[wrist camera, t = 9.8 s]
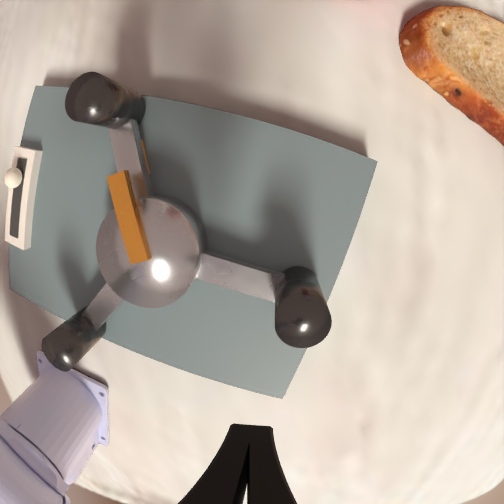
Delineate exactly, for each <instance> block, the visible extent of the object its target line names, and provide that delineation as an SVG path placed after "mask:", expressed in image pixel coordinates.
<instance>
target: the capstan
mask: <svg viewBox="0 0 504 504" xmlns="http://www.w3.org/2000/svg"><path fill="white" fill-rule="evenodd" d="M65 110H66V113H67V115H68V116H69V118H70V119H72V120H74V121H77V122H82V123H87V124H92V125H96V126H101V127H106V128H109V134H110V139H111V144H112V149H113V153H114V158H115V163H116V167H117V172H118V173H115V174H113V175H110V176H108V177H107V181H108V185H109V189H110V193H111V197H112V201H113V205H114V208H113V209H112V210H111V211H110V212H109V213H108V214H107V215H106V217H105V218H104V220H103V221H102V223H101V225H100V227H99V231H98V234H97V239H96V256H97V261H98V265H99V268H100V271H101V273H102V275H103V277H104V279H105V281H106V282H107V283H106V284H105V285H104V287H103V288H102V289H101V290H100V292H99V293H98V294H97V295H96V297H95V298H94V299H93V301H92V302H91V303H90V304H89V306H88V307H84V308H82V309H81V310H79V311H78V312H77V313H75V314H74V315H73V316H72V317H70V318H69V319H68V320H66V321H65V322H64V323H63V324H61V325H60V326H59V327H57V328H56V329H55V330H54V331H52V332H51V333H50V334H49V335H47V336H46V337H45V338H44V339H43V341H42V349H43V352H44V354H45V356H46V358H47V359H48V361H49V362H50V363H51V364H52V365H53V366H54V367H55V368H57V369H58V370H61V371H64V372H67V371H70V370H71V369H72V368H73V367H74V366H75V365H76V363H77V362H78V361H79V360H80V359H81V358H82V357H83V356H84V355H85V354H86V353H87V352H88V351H89V350H90V349H91V348H92V347H93V346H94V345H95V344H96V343H97V342H98V341H99V340H100V339H101V338H102V337H103V336H104V335H105V333H106V323H105V322H106V320H107V319H108V318H109V317H110V316H111V315H112V314H113V312H114V311H115V310H116V309H117V308H118V307H119V306H120V304H121V303H122V302H123V301H124V300H126V301H127V302H129V303H131V304H133V305H136V306H139V307H144V308H160V307H164V306H167V305H170V304H172V303H174V302H175V301H177V300H178V299H179V298H181V297H182V296H183V295H184V294H185V293H186V291H187V290H188V289H189V287H190V286H191V285H192V283H193V282H194V281H195V279H200V280H203V281H206V282H209V283H212V284H215V285H219V286H222V287H225V288H228V289H232V290H235V291H238V292H241V293H245V294H248V295H251V296H255V297H258V298H262V299H265V300H268V301H272V302H275V331H276V333H277V335H278V337H279V338H280V339H281V340H282V341H283V342H284V343H285V344H287V345H289V346H292V347H295V348H308V347H312V346H314V345H316V344H318V343H320V342H321V341H322V340H323V339H324V338H325V337H326V336H327V335H328V333H329V331H330V328H331V322H332V320H331V315H330V312H329V309H328V306H327V304H326V301H325V298H324V295H323V293H322V290H321V287H320V285H319V282H318V279H317V277H316V275H315V274H314V273H313V272H312V271H311V270H309V269H308V268H305V267H302V266H294V267H290V268H287V269H286V270H284V271H283V272H279V271H275V270H272V269H269V268H265V267H262V266H259V265H255V264H252V263H249V262H245V261H242V260H239V259H236V258H232V257H229V256H226V255H222V254H219V253H216V252H213V251H209V250H207V238H206V233H205V230H204V227H203V225H202V223H201V221H200V219H199V218H198V216H197V215H196V214H195V212H194V211H193V210H192V209H191V208H190V207H189V206H188V205H186V204H185V203H183V202H182V201H180V200H178V199H176V198H173V197H170V196H165V195H154V193H153V189H152V185H151V181H150V177H149V173H148V169H147V165H146V161H145V156H144V152H143V147H142V143H141V138H140V134H139V129H138V124H139V123H140V122H141V121H142V119H143V117H144V114H145V110H146V105H145V101H144V99H143V97H142V96H141V95H140V94H138V93H136V92H135V91H133V90H131V89H129V88H127V87H125V86H123V85H121V84H119V83H117V82H115V81H113V80H111V79H109V78H107V77H105V76H103V75H101V74H99V73H96V72H87V73H85V74H82V75H81V76H79V77H78V78H77V79H76V80H75V81H74V82H73V83H72V84H71V86H70V88H69V90H68V92H67V94H66V98H65Z"/></svg>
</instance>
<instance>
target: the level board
mask: <svg viewBox="0 0 504 504" xmlns="http://www.w3.org/2000/svg"><path fill="white" fill-rule="evenodd" d="M69 88H70V87H55V86H36V87H35V90H34V93H33V97H32V100H31V104H30V107H29V111H28V115H27V119H26V123H25V127H24V131H23V136H22V140H21V145H20V146H15V151H14V156H13V162H12V168H10V169H9V170H8V171H7V172H6V174H5V177H4V181H5V184H6V185H7V187H9V190H8V199H7V210H6V225H5V241H6V242H8V243H9V283H10V289H11V290H12V291H14V292H16V293H17V294H19V295H21V296H22V297H24V298H26V299H28V300H29V301H31V302H33V303H35V304H36V305H38V306H40V307H42V308H44V309H45V310H47V311H49V312H51V313H53V314H55V315H57V316H58V317H60V318H62V319H64V320H68V319H69V318H70V317H72V316H73V315H74V314H75V313H77V312H78V311H79V310H81V309H82V308H84V307H88V306H89V304H90V303H91V302H92V301H93V299H94V298H95V297H96V295H97V294H98V293H99V292H100V290H101V289H102V288H103V287H104V285H105V284H106V283H107V282H106V281H105V279H104V277H103V275H102V273H101V271H100V268H99V265H98V261H97V256H96V239H97V234H98V231H99V227H100V225H101V223H102V221H103V220H104V218H105V217H106V215H107V214H108V213H109V212H110V211H111V210H112V209H113V208H114V205H113V201H112V197H111V193H110V189H109V185H108V181H107V177H108V176H110V175H113V174H115V173H118V172H117V167H116V163H115V158H114V153H113V149H112V144H111V139H110V134H109V128H106V127H101V126H96V125H92V124H87V123H82V122H77V121H74V120H72V119H70V118H69V116H68V115H67V113H66V110H65V98H66V94H67V92H68V90H69ZM141 96H142V97H143V99H144V101H145V105H146V110H145V114H144V117H143V119H142V121H141V122H140V123H139V124H138V129H139V134H140V138H141V143H142V147H143V152H144V156H145V161H146V165H147V169H148V173H149V177H150V181H151V185H152V189H153V193H154V195H165V196H170V197H173V198H176V199H178V200H180V201H182V202H183V203H185V204H186V205H188V206H189V207H190V208H191V209H192V210H193V211H194V212H195V214H196V215H197V216H198V218H199V219H200V221H201V223H202V225H203V227H204V230H205V233H206V238H207V250H209V251H213V252H216V253H219V254H222V255H226V256H229V257H232V258H236V259H239V260H242V261H245V262H249V263H252V264H255V265H259V266H262V267H265V268H269V269H272V270H275V271H279V272H283V271H284V270H286V269H287V268H290V267H294V266H302V267H305V268H308V269H309V270H311V271H312V272H313V273H314V274H315V275H316V277H317V279H318V282H319V285H320V287H321V290H322V293H323V295H324V298H325V301H326V303H327V301H328V299H329V296H330V294H331V291H332V289H333V286H334V284H335V281H336V279H337V276H338V274H339V271H340V269H341V266H342V264H343V261H344V258H345V256H346V253H347V250H348V248H349V245H350V242H351V240H352V237H353V234H354V231H355V228H356V226H357V223H358V220H359V217H360V214H361V211H362V208H363V205H364V202H365V199H366V196H367V193H368V190H369V187H370V184H371V181H372V178H373V174H374V171H375V168H376V165H377V161H375V160H373V159H371V158H368V157H366V156H363V155H361V154H358V153H356V152H353V151H350V150H348V149H345V148H343V147H340V146H337V145H334V144H332V143H329V142H326V141H323V140H320V139H318V138H315V137H312V136H309V135H306V134H303V133H300V132H297V131H294V130H290V129H287V128H284V127H281V126H277V125H274V124H271V123H267V122H264V121H260V120H257V119H253V118H249V117H245V116H242V115H238V114H234V113H230V112H226V111H222V110H217V109H213V108H209V107H204V106H199V105H195V104H190V103H185V102H180V101H175V100H169V99H163V98H158V97H152V96H145V95H141ZM105 323H106V333H105V335H104V336H103V337H102V338H104V339H106V340H108V341H110V342H113V343H115V344H117V345H120V346H122V347H124V348H127V349H129V350H131V351H134V352H136V353H139V354H141V355H144V356H146V357H149V358H151V359H154V360H157V361H159V362H162V363H165V364H167V365H170V366H173V367H176V368H178V369H181V370H184V371H187V372H190V373H193V374H196V375H199V376H202V377H205V378H208V379H211V380H215V381H218V382H221V383H224V384H228V385H231V386H235V387H238V388H242V389H245V390H249V391H253V392H257V393H260V394H264V395H268V396H272V397H276V398H281V399H282V398H283V396H284V395H285V393H286V391H287V389H288V387H289V385H290V383H291V380H292V378H293V376H294V374H295V372H296V370H297V368H298V366H299V364H300V362H301V360H302V358H303V355H304V353H305V351H306V349H307V348H295V347H292V346H289V345H287V344H285V343H284V342H283V341H282V340H281V339H280V338H279V337H278V335H277V333H276V331H275V302H272V301H268V300H265V299H262V298H258V297H255V296H251V295H248V294H245V293H241V292H238V291H235V290H232V289H228V288H225V287H222V286H219V285H215V284H212V283H209V282H206V281H203V280H200V279H195V281H194V282H193V283H192V285H191V286H190V287H189V289H188V290H187V291H186V293H185V294H184V295H183V296H182V297H181V298H179V299H178V300H177V301H175V302H174V303H172V304H170V305H167V306H164V307H160V308H144V307H139V306H136V305H133V304H131V303H129V302H127V301H126V300H124V301H123V302H122V303H121V304H120V306H119V307H118V308H117V309H116V310H115V311H114V312H113V314H112V315H111V316H110V317H109V318H108V319H107V320H106V322H105Z"/></svg>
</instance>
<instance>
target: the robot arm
mask: <svg viewBox="0 0 504 504" xmlns="http://www.w3.org/2000/svg"><path fill="white" fill-rule="evenodd" d="M36 357H37V365H38V372H39V377H38V378H37V379H36V380H35V381H34V382H33V383H32V384H31V385H30V386H29V387H28V388H27V389H26V390H25V391H24V392H23V393H22V394H21V395H20V396H19V397H18V398H17V399H16V400H15V401H14V402H13V403H12V404H11V405H10V406H9V407H8V408H7V409H6V410H5V411H4V412H3V413H2V414H1V416H0V504H71V503H70V499H69V498H68V496H67V495H66V492H67V491H68V489H69V485H70V484H72V483H73V482H75V481H76V480H77V479H78V477H79V475H80V474H81V472H82V470H83V469H84V467H85V465H86V464H87V462H88V460H89V459H90V457H91V455H92V454H93V452H94V450H95V449H96V447H97V445H98V444H102V445H104V446H108V445H109V427H108V388H107V387H106V386H105V385H104V384H102V383H100V382H98V381H96V380H94V379H92V378H90V377H88V376H86V375H84V374H82V373H80V372H78V371H76V370H74V369H71V370H70V371H67V372H64V371H61V370H58V369H57V368H55V367H54V366H53V365H52V364H51V363H50V362H49V361H48V359H47V358H46V356H45V354H44V352H42V351H38V352H37V353H36ZM246 486H247V504H297V502H296V501H295V499H294V496H293V494H292V492H291V490H290V488H289V485H288V483H287V481H286V478H285V475H284V473H283V470H282V467H281V465H280V461H279V458H278V455H277V451H276V447H275V442H274V436H273V428H271V427H270V426H257V425H243V424H232V425H230V428H229V431H228V433H227V435H226V437H225V440H224V442H223V443H222V445H221V447H220V449H219V451H218V452H217V454H216V456H215V457H214V459H213V460H212V462H211V463H210V465H209V466H208V468H207V469H206V471H205V472H204V474H203V475H202V476H201V477H200V479H199V480H198V481H197V483H196V484H195V485H194V486H193V488H192V489H191V490H190V491H189V492H188V493H187V495H186V496H185V497H184V498H183V499H182V500H181V501H180V502H179V503H178V504H243V500H244V495H245V491H246Z"/></svg>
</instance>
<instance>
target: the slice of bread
mask: <svg viewBox="0 0 504 504" xmlns="http://www.w3.org/2000/svg"><path fill="white" fill-rule="evenodd" d="M399 46H400V50H401V53H402V57H403V60H404V62H405V64H406V65H407V67H408V68H409V69H410V70H411V71H412V72H413V73H414V74H415V75H416V76H417V77H418V78H420V79H421V80H423V81H425V82H426V83H427V84H428V85H429V86H430V87H431V88H432V89H433V90H435V91H436V92H437V93H439V94H440V95H441V96H443V97H444V98H445V99H446V100H447V101H448V102H449V103H450V104H451V105H452V106H454V107H455V108H457V109H459V110H460V111H461V112H463V113H464V114H465V115H466V116H467V117H468V118H469V119H470V120H472V121H473V122H475V123H477V124H479V125H480V126H481V127H482V128H483V129H485V130H486V131H487V132H488V133H489V134H490V135H492V136H493V137H495V138H496V139H497V140H498V141H499V142H500V143H501V144H502V145H503V146H504V23H502V22H500V21H498V20H496V19H494V18H492V17H490V16H488V15H486V14H485V13H483V12H481V11H478V10H475V9H472V8H467V7H463V6H436V7H433V8H430V9H428V10H425V11H423V12H421V13H420V14H418V15H416V16H415V17H413V18H412V19H411V20H410V21H409V22H408V23H407V24H406V25H405V27H404V29H403V31H402V32H401V33H400V36H399Z"/></svg>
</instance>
